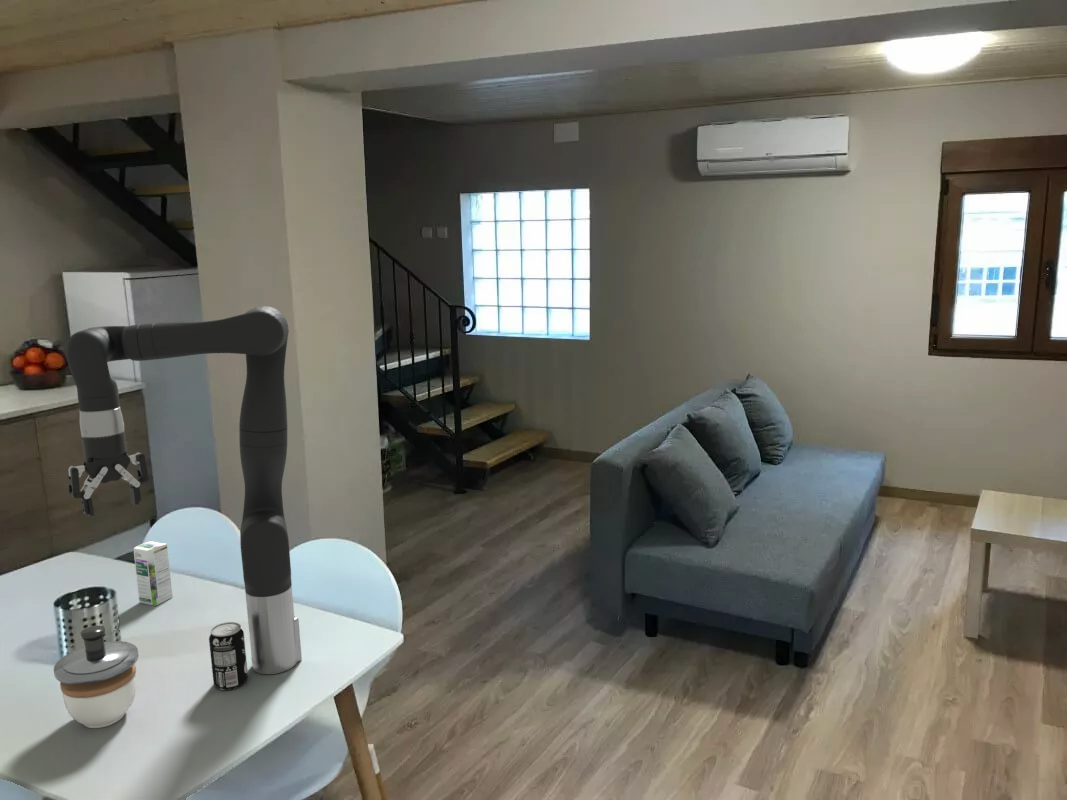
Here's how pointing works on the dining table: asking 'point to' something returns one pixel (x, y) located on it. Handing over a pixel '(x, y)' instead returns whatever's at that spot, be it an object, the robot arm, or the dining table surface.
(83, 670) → the steel lid
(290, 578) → the robot arm
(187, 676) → the dining table surface
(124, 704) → the lidded bowl
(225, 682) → the beverage can
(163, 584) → the syrup box
